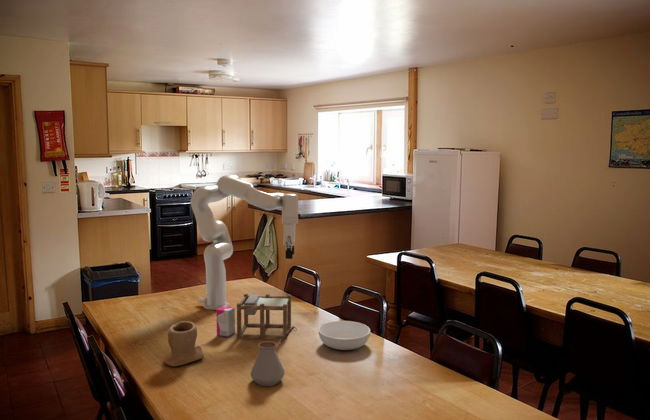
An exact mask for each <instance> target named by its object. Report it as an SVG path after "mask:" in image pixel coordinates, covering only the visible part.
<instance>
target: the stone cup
mask: <svg viewBox="0 0 650 420" xmlns="http://www.w3.org/2000/svg"><path fill="white" fill-rule="evenodd" d="M197 337H198V329H197V326H196V324H195V323H194V322H192V321H188V320H183V321H182V320H181V321H178V322H176V323H175V324H172V325H171V326H170V327H169V328H168V330H167V343H168V346H169V348H170V352H171V353H169V354H167V355H165V356H164V357H163V359H162V360H163V363H165V364H166V365H167V366H170V367H179V366H183V365H186V364H188V363H193V362H195V361H198V360H201V359H204V358H205V353H204V352H203V347H202V346H200V345H197V346H195V345H196V342H197V341H196V340H197Z"/></svg>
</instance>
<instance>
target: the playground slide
mask: <svg viewBox="0 0 650 420" xmlns="http://www.w3.org/2000/svg"><path fill="white" fill-rule="evenodd" d="M248 296H249V297H248V299H247V300H246V302H245V305H254V306H260V304H264V306H283V304H287V303H288V300H289V298H261V297H260V298H259V296H260V294H250V295H248ZM257 312H258V310H245V315H248V316H255V315H256V314H257Z"/></svg>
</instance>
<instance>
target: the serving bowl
mask: <svg viewBox="0 0 650 420" xmlns="http://www.w3.org/2000/svg"><path fill="white" fill-rule="evenodd" d="M317 330H318V336H319V339H320V341H322V343H323V344H324V345H326V346H327V347H329V348H332V349H335V350H339V351H340V350H341V351H348V350H351V351H352V350H356V349H358V348H361V347H363V346H364V345H365V344H366V343H368V340H369V339H370V336H371V328H370V327H369V326H367V325H366V324H364V323H361V322H357V321H352V320H333V321H329V322H325V323H323V324H321V325H320V326H319V327H318V329H317Z"/></svg>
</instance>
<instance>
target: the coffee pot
mask: <svg viewBox="0 0 650 420" xmlns="http://www.w3.org/2000/svg"><path fill="white" fill-rule="evenodd" d="M294 329H295V330H294ZM293 331H294V332H297V331H298V329H297V328H296V327H295V326H291V328H290V329H289V328H288V330H287V333H286V334H285V335H284V336H283V335H282V336H283V337H282V339H279V342H277V343H276V342H274V341H268V340H267V341H266V340H265V341H261V342H259V343H258V344H257V347H258V348H259V352H258V355H257V357H256V358H255V362H254V363H253V366H252V369H251V371H250V377H251V378H252V380H253V382H255V383H256V384H257V385H259V386H263V387H271V386H274V385H277V384H278V383H279V382H280V381H281V380H282V379H283V378H284V376H285V369H284V367H283V365H282V362H281V360H280V358H279V356H278V354H277V351H276V350H277V349H278V348H279V346H280V345H281V344H282V343H283V342H284V341H285V340H286V338H287V339H288V337H289V335H290V334H291V333H292V332H293Z"/></svg>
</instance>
